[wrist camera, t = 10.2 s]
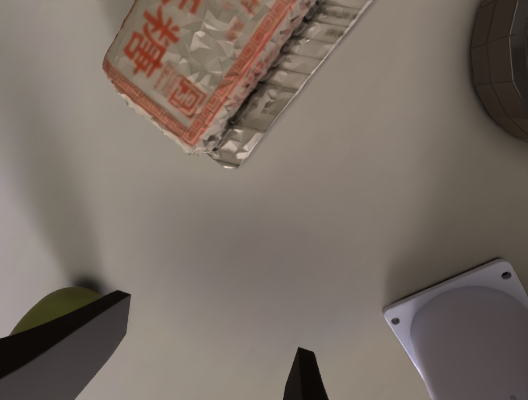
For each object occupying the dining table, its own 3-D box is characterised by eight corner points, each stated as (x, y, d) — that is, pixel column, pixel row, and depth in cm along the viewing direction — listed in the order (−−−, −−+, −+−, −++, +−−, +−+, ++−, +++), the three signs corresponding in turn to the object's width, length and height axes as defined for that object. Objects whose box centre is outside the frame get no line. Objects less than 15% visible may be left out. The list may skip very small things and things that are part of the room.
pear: (62, 323, 27) (-75, 442, 18) (60, 267, 25) (-93, 365, 16) (125, 340, 27) (18, 473, 17) (128, 283, 25) (11, 395, 15)
